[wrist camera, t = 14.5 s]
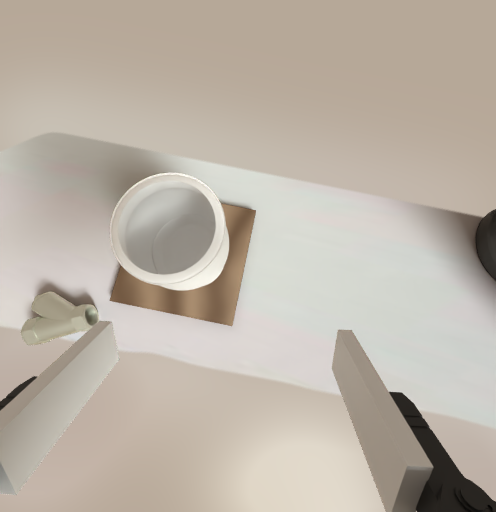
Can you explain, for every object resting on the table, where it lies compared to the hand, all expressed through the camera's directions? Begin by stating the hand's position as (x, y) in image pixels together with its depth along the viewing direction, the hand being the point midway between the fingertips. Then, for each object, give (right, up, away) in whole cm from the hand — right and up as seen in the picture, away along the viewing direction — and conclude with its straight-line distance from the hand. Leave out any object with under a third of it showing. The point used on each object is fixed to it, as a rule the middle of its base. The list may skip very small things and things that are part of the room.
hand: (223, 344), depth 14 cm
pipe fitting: (-25, -3, +22) cm, 33 cm away
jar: (-6, +5, +22) cm, 23 cm away
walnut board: (-8, +5, +23) cm, 25 cm away
